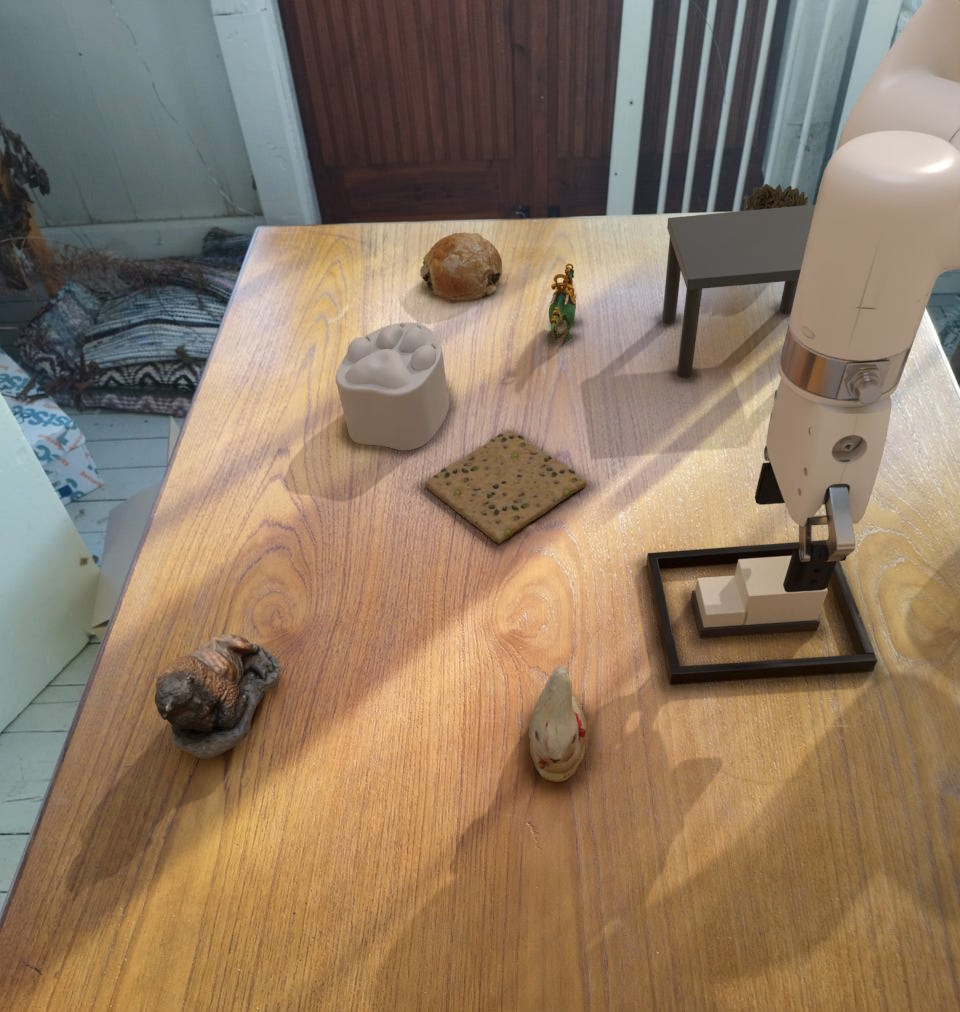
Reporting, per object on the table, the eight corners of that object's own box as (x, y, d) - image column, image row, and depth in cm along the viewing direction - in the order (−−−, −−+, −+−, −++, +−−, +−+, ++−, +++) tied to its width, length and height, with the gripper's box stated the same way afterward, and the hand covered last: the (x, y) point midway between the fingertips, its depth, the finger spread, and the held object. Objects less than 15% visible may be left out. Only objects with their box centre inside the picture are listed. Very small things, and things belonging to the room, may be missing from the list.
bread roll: (473, 332, 113) (494, 283, 106) (404, 291, 112) (420, 239, 106) (500, 291, 118) (521, 242, 112) (434, 252, 118) (452, 201, 111)
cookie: (422, 486, 90) (421, 479, 89) (510, 432, 94) (510, 424, 93) (498, 545, 84) (497, 538, 83) (588, 485, 88) (588, 477, 87)
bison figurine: (224, 654, 78) (186, 579, 70) (297, 663, 77) (267, 587, 69) (169, 769, 71) (119, 700, 63) (249, 781, 70) (209, 712, 62)
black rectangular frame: (827, 550, 80) (831, 539, 79) (873, 671, 71) (878, 660, 70) (646, 563, 81) (647, 552, 80) (669, 684, 72) (671, 674, 71)
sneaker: (804, 591, 77) (816, 552, 73) (817, 630, 74) (831, 592, 71) (690, 599, 78) (697, 560, 74) (699, 638, 75) (707, 600, 71)
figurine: (583, 309, 108) (584, 245, 101) (565, 366, 101) (565, 301, 94) (559, 307, 108) (558, 244, 102) (539, 364, 101) (537, 299, 95)
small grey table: (792, 304, 105) (814, 204, 95) (821, 367, 97) (848, 265, 87) (659, 315, 106) (668, 217, 96) (676, 379, 98) (688, 279, 88)
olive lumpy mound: (760, 239, 115) (771, 177, 108) (807, 259, 111) (821, 195, 104) (722, 261, 112) (731, 198, 106) (768, 282, 108) (780, 218, 102)
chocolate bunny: (502, 766, 69) (494, 694, 61) (553, 695, 73) (551, 619, 65) (563, 798, 67) (562, 728, 59) (612, 724, 70) (617, 649, 63)
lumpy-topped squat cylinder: (337, 440, 96) (320, 373, 89) (381, 371, 103) (368, 304, 96) (425, 454, 93) (414, 385, 86) (464, 382, 101) (456, 313, 94)
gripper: (952, 434, 50) (869, 623, 63) (862, 278, 61) (807, 468, 74) (820, 443, 50) (765, 630, 64) (754, 286, 61) (719, 474, 75)
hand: (788, 542), depth 69 cm, fingers open, 9 cm apart
